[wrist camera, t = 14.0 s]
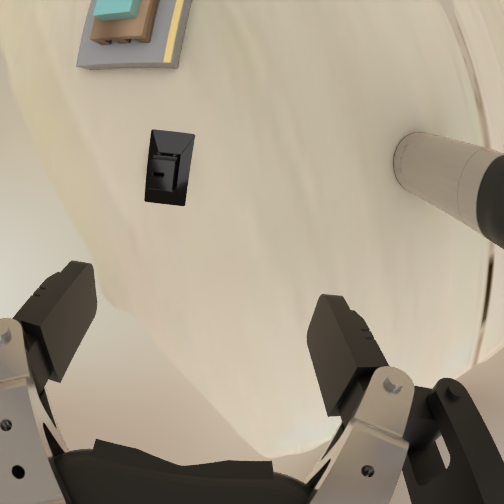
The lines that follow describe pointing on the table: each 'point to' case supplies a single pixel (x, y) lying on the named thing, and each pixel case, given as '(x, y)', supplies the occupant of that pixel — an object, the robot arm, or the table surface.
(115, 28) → the pallet
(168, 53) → the dock
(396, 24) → the table surface
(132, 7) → the teal rectangular block
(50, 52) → the table surface
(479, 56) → the table surface
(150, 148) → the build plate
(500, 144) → the table surface
